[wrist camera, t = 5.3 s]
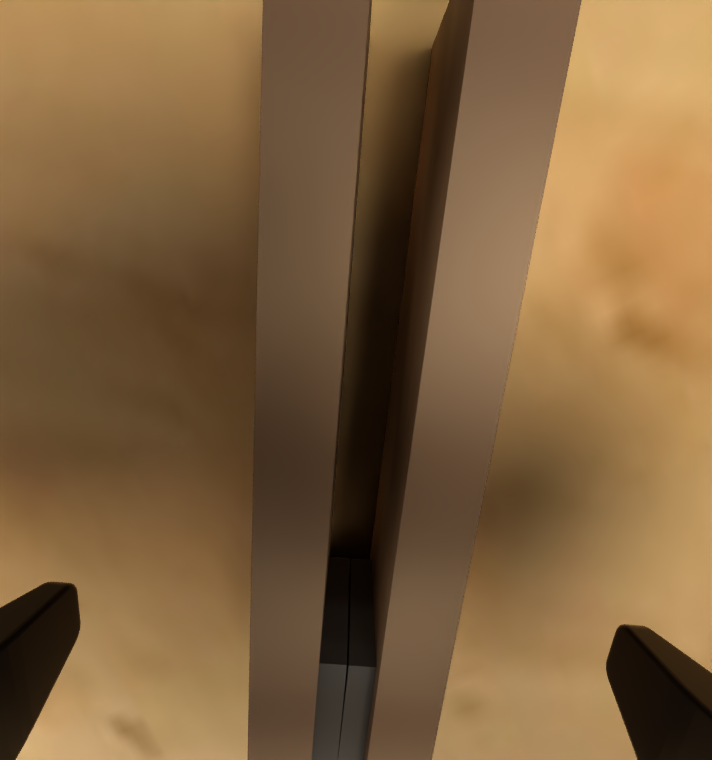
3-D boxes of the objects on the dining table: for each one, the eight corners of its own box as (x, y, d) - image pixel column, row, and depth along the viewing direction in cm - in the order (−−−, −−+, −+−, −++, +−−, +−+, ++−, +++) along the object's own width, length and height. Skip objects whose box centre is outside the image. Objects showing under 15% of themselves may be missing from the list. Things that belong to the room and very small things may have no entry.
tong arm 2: (305, 32, 10) (265, -126, 6) (397, 41, 10) (425, -109, 6) (279, 622, 15) (247, 782, 10) (342, 626, 15) (335, 788, 10)
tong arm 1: (405, 42, 10) (441, -107, 6) (495, 52, 10) (598, -89, 6) (342, 627, 15) (336, 788, 10) (405, 632, 15) (425, 794, 10)
